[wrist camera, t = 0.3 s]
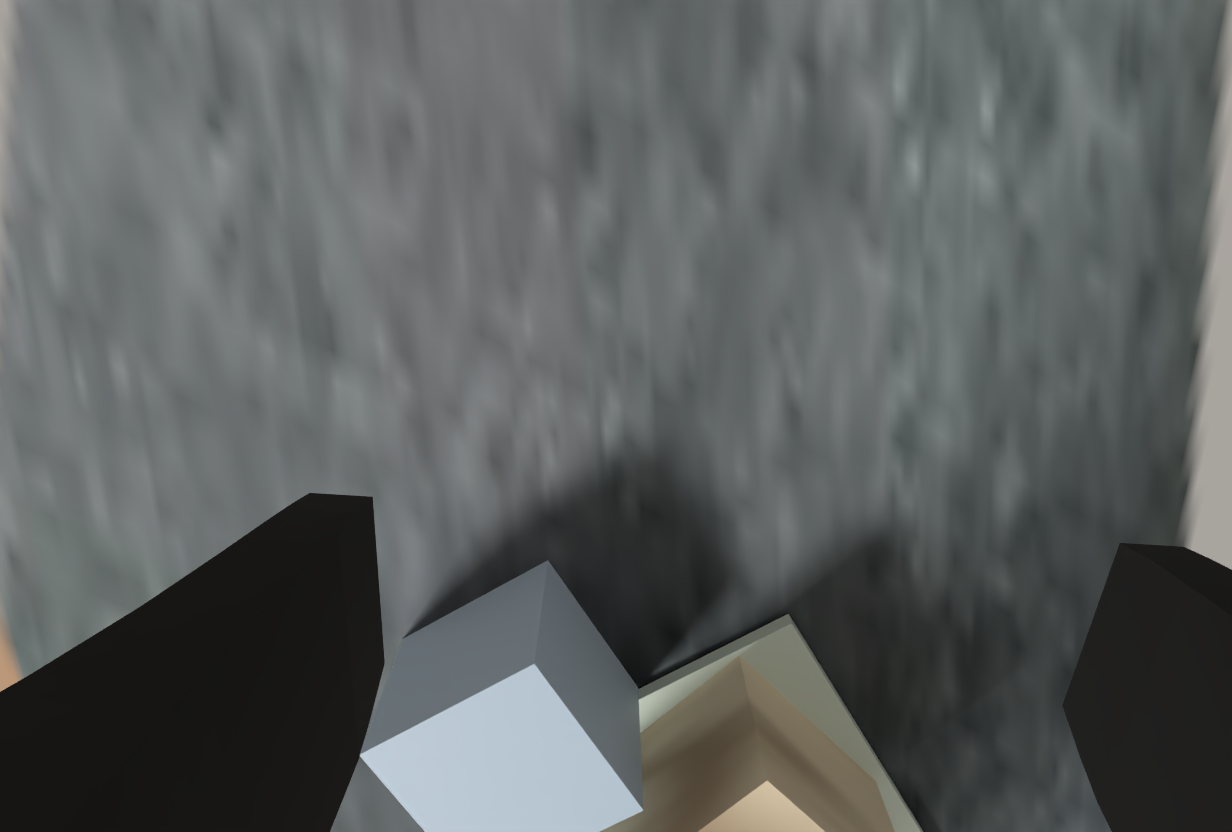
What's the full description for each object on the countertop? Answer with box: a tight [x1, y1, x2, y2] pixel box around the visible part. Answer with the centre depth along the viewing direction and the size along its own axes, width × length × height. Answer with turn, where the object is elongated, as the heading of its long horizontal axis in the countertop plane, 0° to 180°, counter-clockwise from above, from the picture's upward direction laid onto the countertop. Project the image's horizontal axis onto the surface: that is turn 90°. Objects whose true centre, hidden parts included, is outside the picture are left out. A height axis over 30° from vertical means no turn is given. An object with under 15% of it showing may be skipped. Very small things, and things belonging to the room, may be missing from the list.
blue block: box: [360, 560, 644, 832], centre depth 20 cm, size 4×4×4 cm
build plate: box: [638, 614, 923, 832], centre depth 23 cm, size 10×8×1 cm
